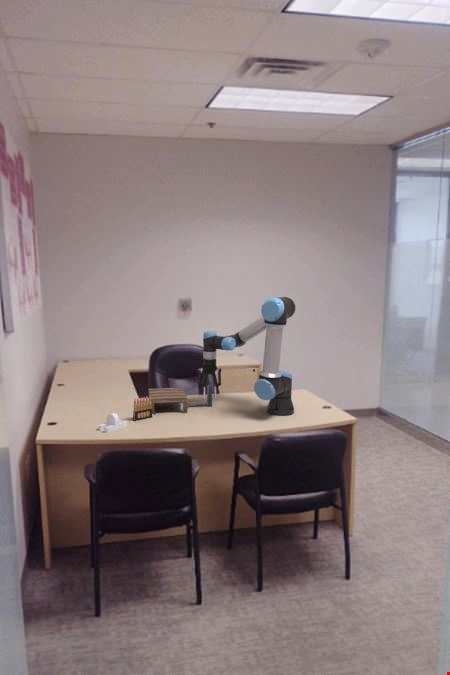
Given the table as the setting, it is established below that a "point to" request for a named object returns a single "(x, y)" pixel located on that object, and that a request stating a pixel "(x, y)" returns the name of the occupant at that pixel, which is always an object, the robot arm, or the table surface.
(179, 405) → the puck
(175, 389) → the bench
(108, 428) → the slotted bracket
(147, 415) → the ammunition clip
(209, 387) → the hook tool
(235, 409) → the table surface
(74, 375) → the table surface
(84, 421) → the table surface
